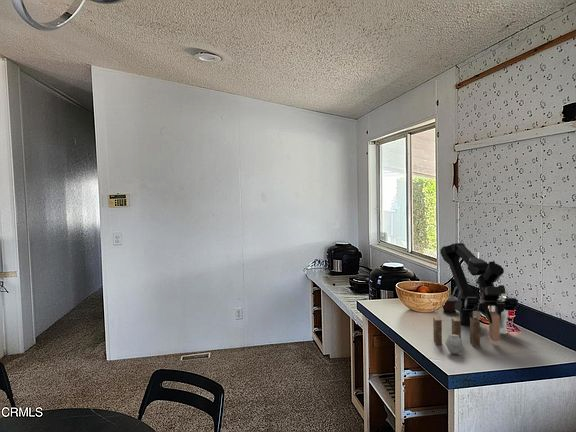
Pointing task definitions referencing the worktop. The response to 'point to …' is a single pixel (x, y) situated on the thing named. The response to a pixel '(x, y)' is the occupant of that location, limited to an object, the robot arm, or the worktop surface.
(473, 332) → the domino
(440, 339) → the domino
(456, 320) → the domino
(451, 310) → the mate gourd
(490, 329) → the loose domino
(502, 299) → the beer glass
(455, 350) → the grey faceted rock
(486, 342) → the worktop surface
